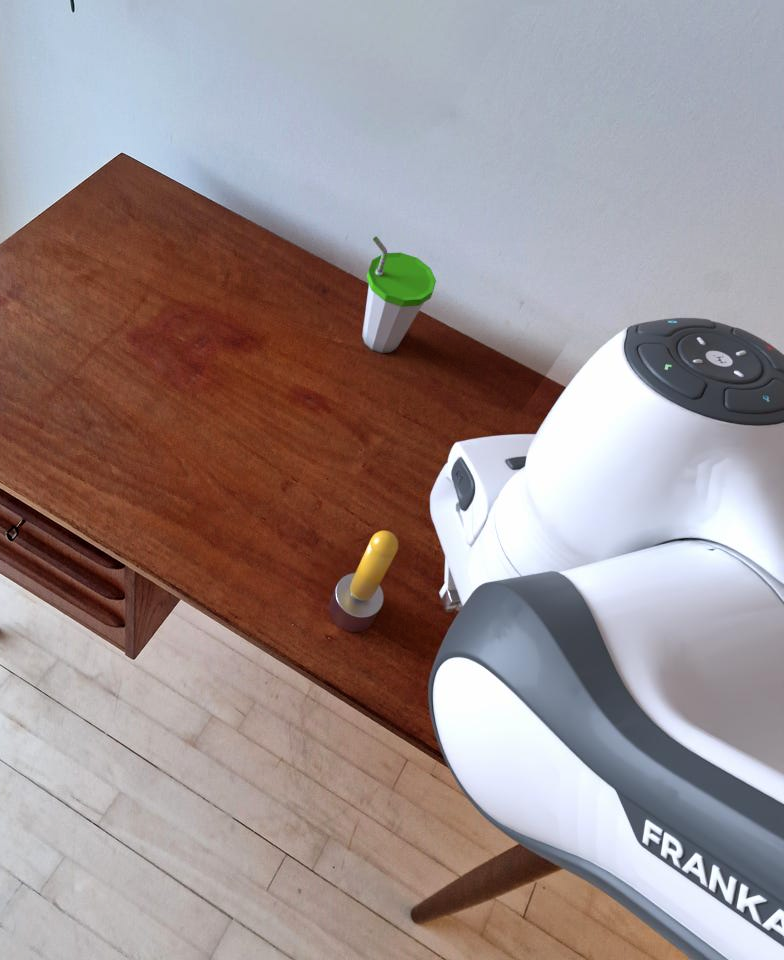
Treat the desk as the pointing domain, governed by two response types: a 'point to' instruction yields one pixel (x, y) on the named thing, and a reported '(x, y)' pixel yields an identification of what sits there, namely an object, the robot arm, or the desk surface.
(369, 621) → the yellow lever knob
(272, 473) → the desk surface
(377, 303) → the cup
